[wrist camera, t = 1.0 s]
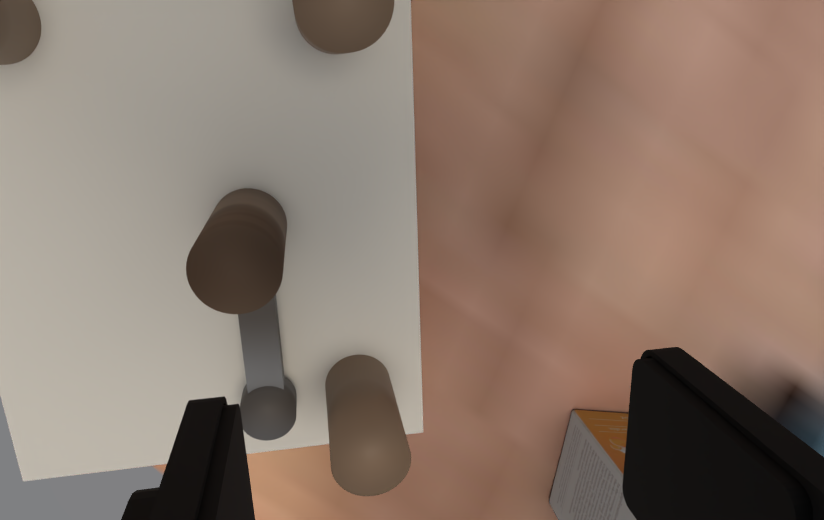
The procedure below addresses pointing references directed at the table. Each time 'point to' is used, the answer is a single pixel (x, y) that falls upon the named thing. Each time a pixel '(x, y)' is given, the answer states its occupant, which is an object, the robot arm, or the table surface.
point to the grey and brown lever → (249, 299)
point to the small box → (592, 468)
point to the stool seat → (187, 215)
